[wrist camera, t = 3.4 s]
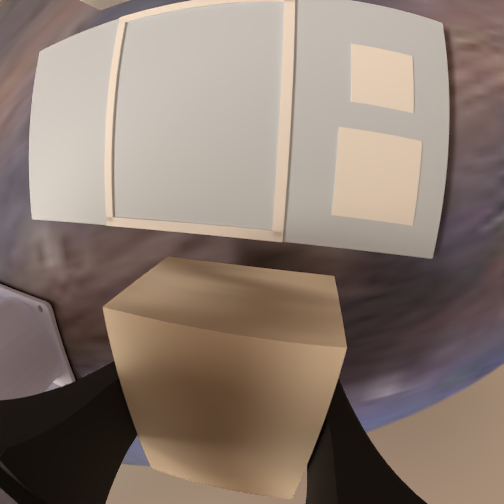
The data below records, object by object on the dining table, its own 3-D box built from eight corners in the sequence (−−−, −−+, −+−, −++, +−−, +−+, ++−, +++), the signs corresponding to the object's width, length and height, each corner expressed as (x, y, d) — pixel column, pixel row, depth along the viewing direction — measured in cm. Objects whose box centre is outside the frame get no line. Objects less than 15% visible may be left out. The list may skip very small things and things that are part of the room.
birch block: (182, 408, 13) (151, 468, 9) (168, 256, 10) (102, 306, 7) (299, 429, 12) (291, 498, 8) (334, 276, 9) (347, 347, 6)
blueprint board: (39, 216, 14) (30, 219, 13) (46, 52, 11) (38, 51, 10) (427, 254, 11) (433, 259, 10) (437, 27, 7) (443, 22, 7)
